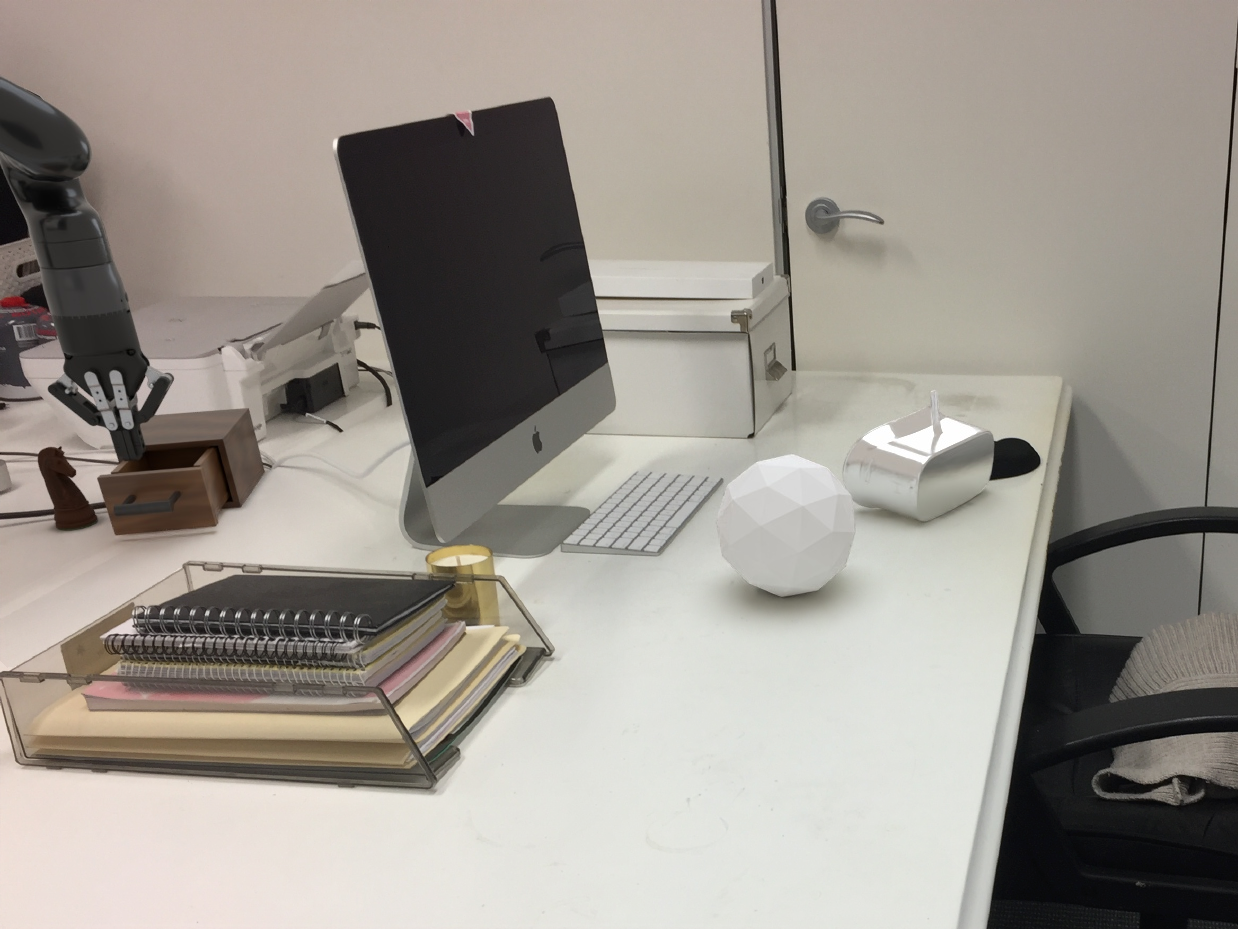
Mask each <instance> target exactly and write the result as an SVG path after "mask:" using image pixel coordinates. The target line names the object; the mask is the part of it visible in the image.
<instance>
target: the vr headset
mask: <svg viewBox="0 0 1238 929" xmlns="http://www.w3.org/2000/svg"><path fill="white" fill-rule="evenodd" d="M929 397H930V405H928V406H925V407H923V408H921V409H919V410H917V411H915V412H912V413H911V414H908V415H906V416H903V417H899V418H897V419H896V418H895V419H894V420H891V421H888V422H886V423H884V424H881V425H879V426H877V427H875V428H873V429H871V430H869V431H868V432H866V433H865V434H863V435H862V436H860V437H858V439H856V441H854V443H853V444H852V446H851V447H850V448H849V450H848V452H847V453H846V456H845V459H844V461H843V464H842V465H843V466H842V482H843V486H844V487H845V488H846V490H847V491H848V492H849V493H850V494H851V495H852V502H853V503H855V504H856V505H858V506H861V507H864V508H868V509H880V510H883V511H886V512H890V513H893V514H897V515H900V516H903V517H907V518H909V519H913V520H916V521H919V522H928V521H929V522H930V521H932V520H934V519H937V518H938V517H941V516H943V515H945V514H947V513H949V512H950V511H952V510H954V509H956V508H958V507H960V506H962V505H963V504H965V503H967V502H969V501H970V500H972V499H974V498H975V497H976V496H979V494H981V493H982V492H983V491H984V490H985V489H986V487H987V485H988V483H989V481H990V479H991V475H992V470H993V465H994V464H993V463H994V456H995V454H994V453H995V439H994V434H993V433H992V431H991V430H990V429H987V428H984V427H981V426H978V425H975V424H972V423H969V422H966V421H963V420H959V419H957V418H954V417H952V416H949V415H948V416H947V415H945V414H944V413H942V412H940V404H939V403H940V402H939V391H938V390H931V391H930V392H929Z"/></svg>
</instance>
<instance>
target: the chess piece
mask: <svg viewBox="0 0 1238 929" xmlns="http://www.w3.org/2000/svg"><path fill="white" fill-rule="evenodd" d="M62 449H63V446H62V445H60V446H59V447H56V446H48V447H45V448H42V449H41V450H40V451H39V452H38V454H37V466H38V469H39V471H40V474H41V477H42V479H43V481H44V484H45V488H46V490H47V493H48V495H49V498H50V501H51V503H52V505H53V510H54V513H53V520H54V522H55V523H54V525H55V527H56V528H57V529H58V530H60V531H72V530H73V531H75V530H80V529H84V528H87V527H88V528H89V527H91V526H93V525H95V524H96V523H97V522H98V519H99V518H98V514H96V511H95V509H94V508H93V507H92V506H91V505H90V501H89V500H88V499H87V497H86V496H85V494H84V493H83V492H82V490H81V489H80V488H79V487H78V485H77V484H76V483H75V482H74V481H73V479H74V478H75V477H76V476H77V470H76V468H74V466H72V465H71V464H70V462H69V461H68V459H67V456H65V453H66V452H65V451H64V450H62Z"/></svg>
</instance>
